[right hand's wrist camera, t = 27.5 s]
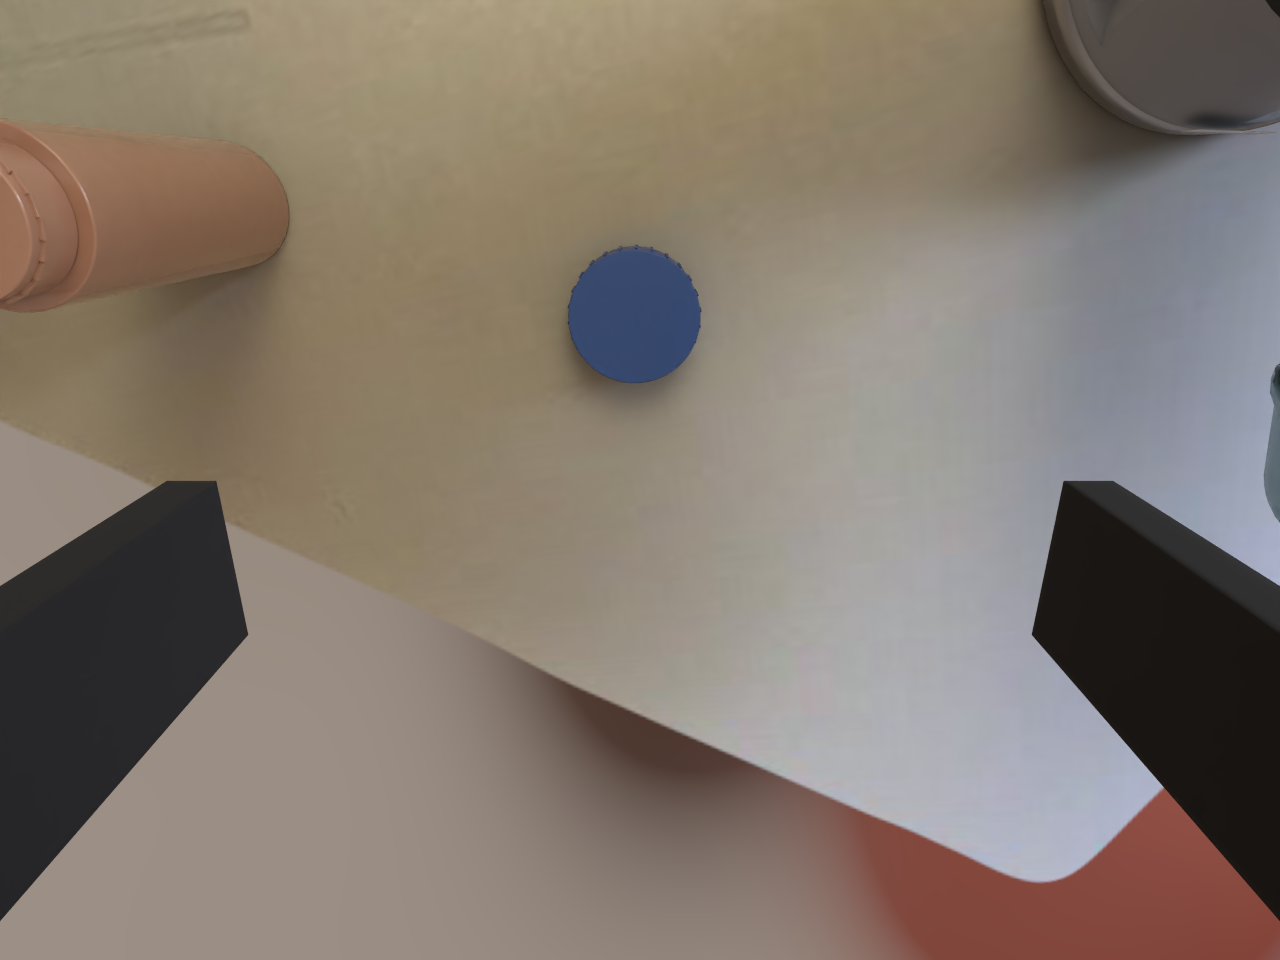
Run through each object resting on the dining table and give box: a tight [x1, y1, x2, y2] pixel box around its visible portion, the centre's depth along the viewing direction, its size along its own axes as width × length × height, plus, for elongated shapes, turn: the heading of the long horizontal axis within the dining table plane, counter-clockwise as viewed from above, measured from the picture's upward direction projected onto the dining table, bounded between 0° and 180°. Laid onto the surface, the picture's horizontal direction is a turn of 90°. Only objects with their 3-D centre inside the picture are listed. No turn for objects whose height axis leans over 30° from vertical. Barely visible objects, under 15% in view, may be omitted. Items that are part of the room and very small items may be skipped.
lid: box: [568, 245, 701, 383], centre depth 35 cm, size 6×6×2 cm
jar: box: [0, 118, 289, 312], centre depth 28 cm, size 5×5×15 cm
